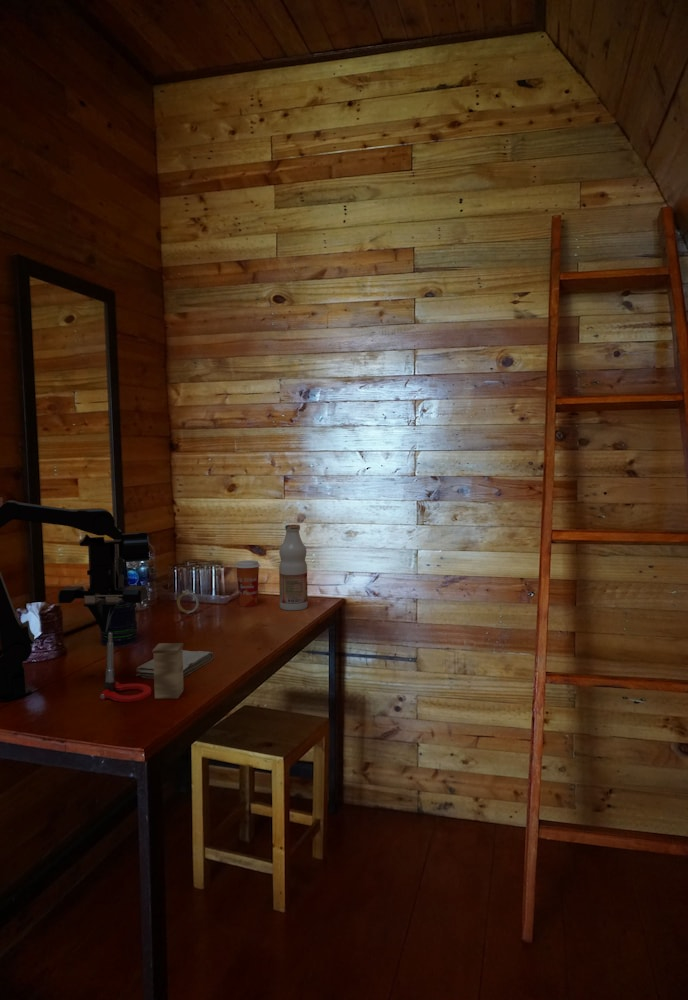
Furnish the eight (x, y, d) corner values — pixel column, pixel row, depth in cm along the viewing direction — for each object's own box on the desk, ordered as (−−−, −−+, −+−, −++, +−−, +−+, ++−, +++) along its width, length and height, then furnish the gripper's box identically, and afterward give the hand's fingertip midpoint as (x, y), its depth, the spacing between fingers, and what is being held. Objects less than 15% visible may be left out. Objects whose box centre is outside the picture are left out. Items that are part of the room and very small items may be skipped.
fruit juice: (274, 607, 230) (272, 525, 228) (295, 603, 236) (294, 523, 234) (291, 612, 223) (290, 527, 221) (313, 607, 230) (312, 525, 228)
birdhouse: (153, 698, 147) (152, 650, 146) (164, 684, 156) (163, 638, 155) (178, 698, 147) (177, 650, 146) (188, 684, 156) (187, 638, 155)
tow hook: (157, 690, 153) (115, 686, 154) (158, 629, 152) (115, 626, 153) (141, 705, 144) (96, 701, 145) (142, 641, 143) (96, 638, 144)
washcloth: (133, 679, 161) (132, 666, 161) (173, 656, 178) (173, 645, 178) (177, 683, 157) (177, 670, 157) (214, 660, 175) (214, 648, 174)
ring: (176, 614, 222) (175, 590, 221) (179, 612, 225) (179, 588, 224) (196, 614, 221) (196, 590, 220) (200, 612, 224) (199, 588, 224)
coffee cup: (234, 607, 230) (233, 563, 229) (238, 602, 239) (238, 559, 238) (258, 607, 230) (258, 563, 229) (262, 602, 238) (261, 559, 237)
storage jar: (94, 646, 186) (92, 581, 185) (108, 636, 196) (106, 574, 194) (130, 646, 186) (128, 581, 184) (142, 636, 195) (140, 574, 194)
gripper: (153, 558, 163) (155, 622, 164) (75, 558, 163) (77, 622, 164) (139, 566, 152) (141, 634, 153) (55, 566, 152) (58, 635, 153)
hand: (104, 631), depth 156 cm, fingers closed
